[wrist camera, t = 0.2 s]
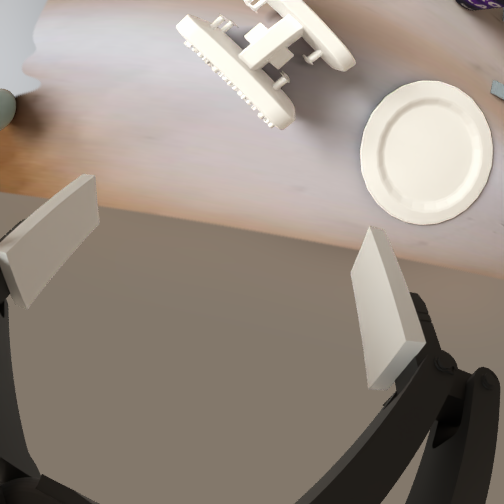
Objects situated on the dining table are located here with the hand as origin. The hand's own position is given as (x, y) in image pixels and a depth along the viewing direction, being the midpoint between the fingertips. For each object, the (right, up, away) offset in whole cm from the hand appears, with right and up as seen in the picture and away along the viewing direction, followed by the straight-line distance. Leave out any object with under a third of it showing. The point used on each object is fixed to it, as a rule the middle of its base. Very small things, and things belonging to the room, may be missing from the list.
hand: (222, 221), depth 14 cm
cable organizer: (+4, +23, +18) cm, 29 cm away
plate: (+25, +12, +23) cm, 36 cm away
